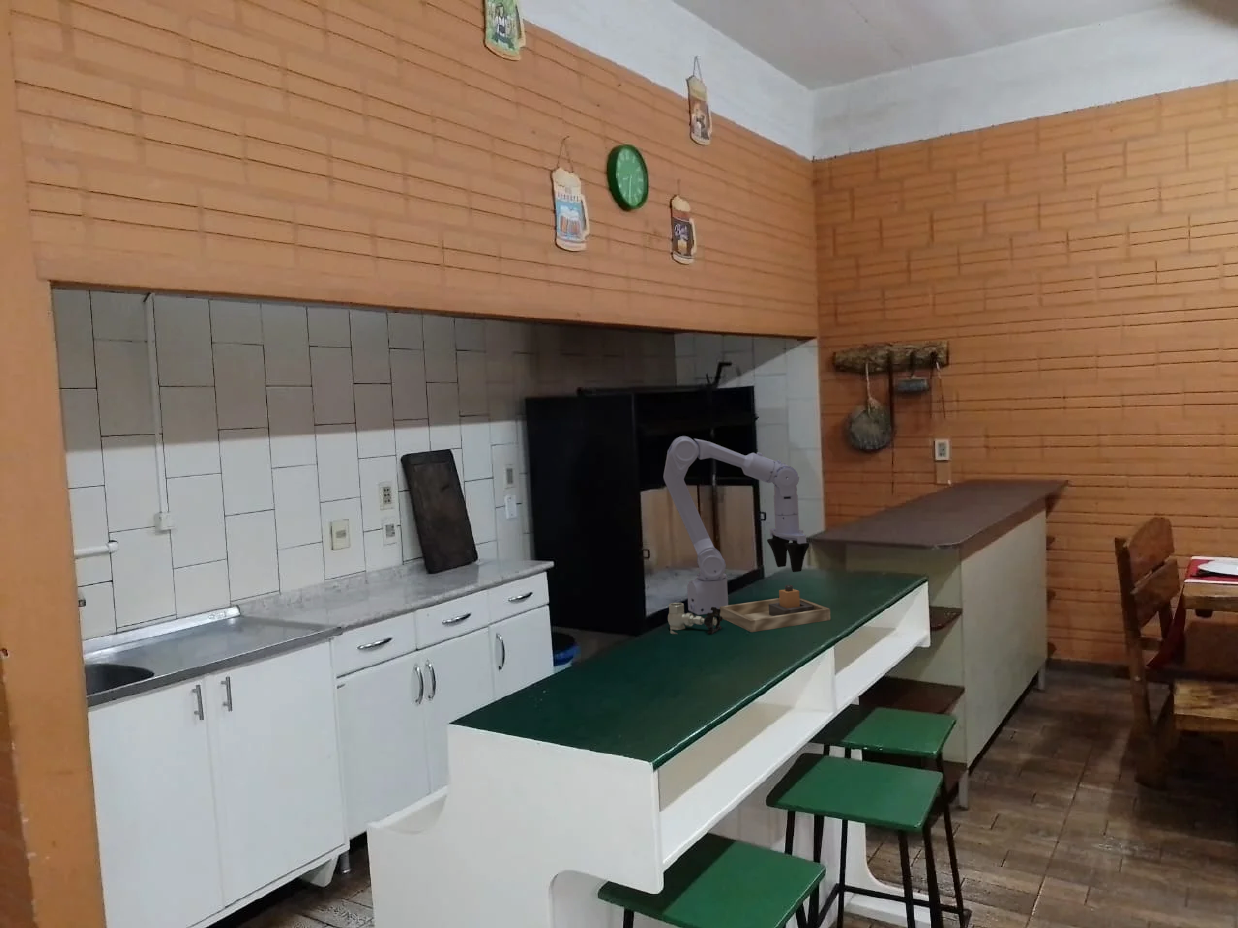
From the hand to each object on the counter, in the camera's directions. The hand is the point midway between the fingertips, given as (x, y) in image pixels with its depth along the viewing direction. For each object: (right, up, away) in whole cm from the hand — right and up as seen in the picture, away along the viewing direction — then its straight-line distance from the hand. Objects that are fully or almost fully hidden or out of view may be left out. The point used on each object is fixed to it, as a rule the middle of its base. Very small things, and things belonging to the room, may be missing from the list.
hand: (789, 569), depth 227 cm
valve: (-25, -13, -17) cm, 33 cm away
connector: (-2, -10, -10) cm, 14 cm away
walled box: (-5, -11, -11) cm, 17 cm away
